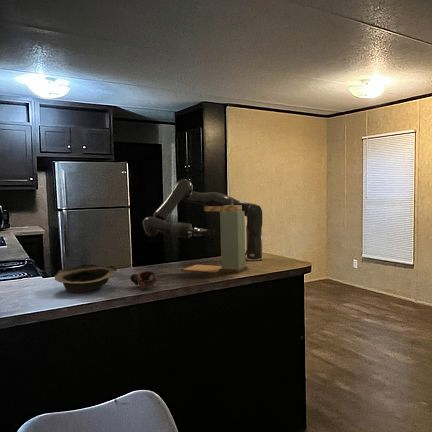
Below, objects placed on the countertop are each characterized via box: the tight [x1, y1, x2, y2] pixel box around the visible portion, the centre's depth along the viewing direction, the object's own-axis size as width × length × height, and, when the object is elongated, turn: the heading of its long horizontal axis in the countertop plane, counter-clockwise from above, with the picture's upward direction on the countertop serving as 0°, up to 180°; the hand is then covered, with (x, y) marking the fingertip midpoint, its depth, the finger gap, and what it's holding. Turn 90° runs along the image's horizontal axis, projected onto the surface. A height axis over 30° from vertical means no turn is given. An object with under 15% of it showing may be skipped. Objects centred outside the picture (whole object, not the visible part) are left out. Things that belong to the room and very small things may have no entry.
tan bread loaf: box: [203, 200, 242, 212], centre depth 230 cm, size 20×6×6 cm, turn 70°
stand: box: [218, 211, 249, 274], centre depth 230 cm, size 11×11×31 cm
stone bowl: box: [54, 263, 117, 294], centre depth 193 cm, size 25×25×9 cm
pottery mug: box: [129, 270, 158, 291], centre depth 195 cm, size 12×10×8 cm
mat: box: [181, 264, 221, 274], centre depth 236 cm, size 20×14×1 cm
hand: (211, 233), depth 225 cm, fingers open, 8 cm apart
